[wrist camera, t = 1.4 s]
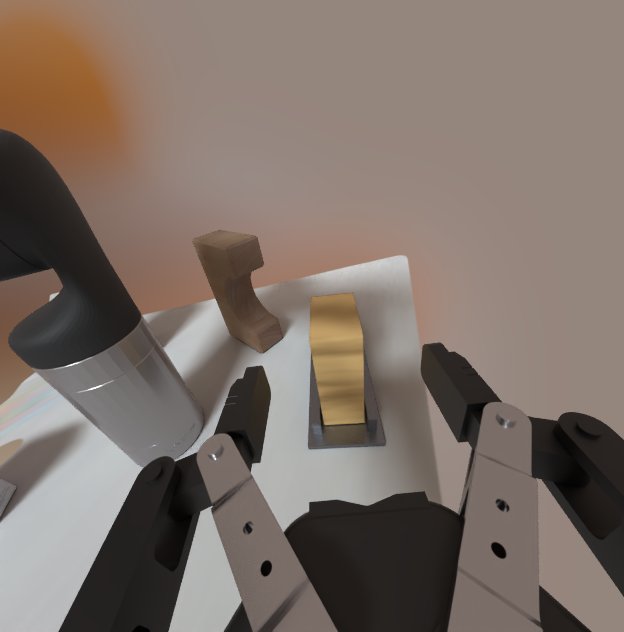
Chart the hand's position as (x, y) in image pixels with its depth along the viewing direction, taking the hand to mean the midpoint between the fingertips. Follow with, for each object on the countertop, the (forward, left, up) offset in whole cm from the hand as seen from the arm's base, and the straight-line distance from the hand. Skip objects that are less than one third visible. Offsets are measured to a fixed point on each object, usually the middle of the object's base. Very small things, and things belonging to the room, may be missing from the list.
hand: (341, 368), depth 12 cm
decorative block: (-29, +17, -20) cm, 39 cm away
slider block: (-7, +11, -19) cm, 23 cm away
